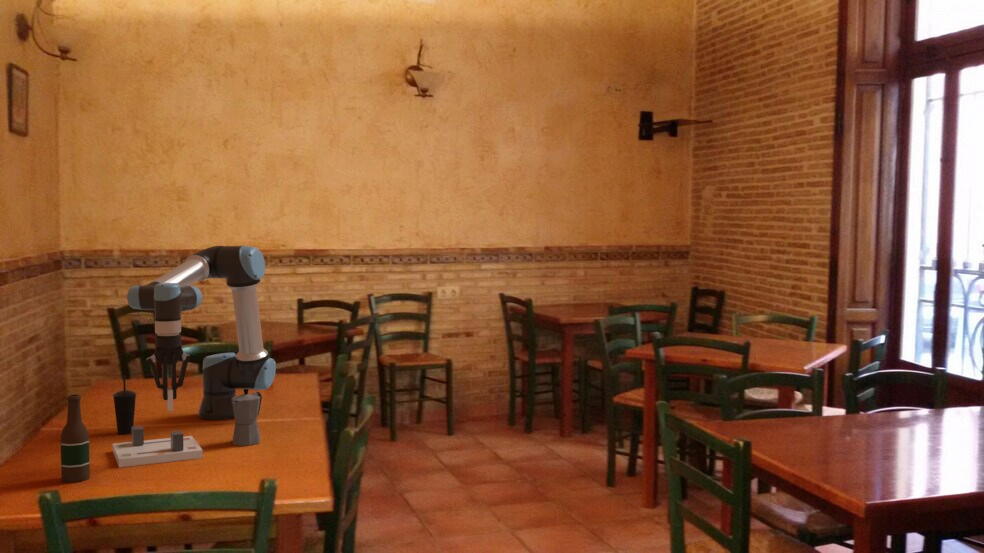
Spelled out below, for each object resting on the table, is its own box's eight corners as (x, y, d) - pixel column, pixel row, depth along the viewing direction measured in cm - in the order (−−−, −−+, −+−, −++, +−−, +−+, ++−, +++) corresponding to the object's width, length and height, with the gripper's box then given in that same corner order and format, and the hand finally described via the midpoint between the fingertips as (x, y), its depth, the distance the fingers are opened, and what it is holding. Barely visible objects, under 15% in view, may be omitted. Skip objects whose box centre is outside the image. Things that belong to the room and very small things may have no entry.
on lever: (141, 441, 287) (141, 425, 286) (143, 444, 282) (143, 428, 282) (131, 442, 285) (131, 426, 285) (133, 445, 281) (133, 429, 280)
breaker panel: (191, 443, 295) (191, 435, 295) (202, 458, 278) (202, 449, 277) (112, 451, 284) (112, 443, 284) (118, 467, 266) (118, 458, 266)
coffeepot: (247, 448, 289) (247, 393, 288) (222, 446, 292) (221, 391, 291) (273, 437, 304) (272, 384, 302) (249, 435, 307) (248, 383, 305)
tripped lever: (180, 446, 281) (180, 430, 280) (183, 450, 276) (183, 433, 276) (170, 447, 279) (170, 431, 279) (173, 451, 275) (172, 434, 274)
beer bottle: (66, 475, 258) (64, 392, 257) (94, 474, 259) (93, 392, 257) (55, 483, 251) (53, 398, 249) (84, 483, 251) (82, 398, 250)
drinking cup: (128, 436, 304) (127, 377, 302) (108, 434, 305) (107, 376, 304) (142, 431, 311) (140, 373, 310) (122, 429, 313) (121, 372, 311)
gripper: (188, 331, 281) (190, 405, 283) (143, 333, 275) (146, 409, 277) (192, 334, 274) (194, 410, 276) (146, 337, 268) (149, 414, 270)
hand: (170, 410), depth 276 cm, fingers closed
